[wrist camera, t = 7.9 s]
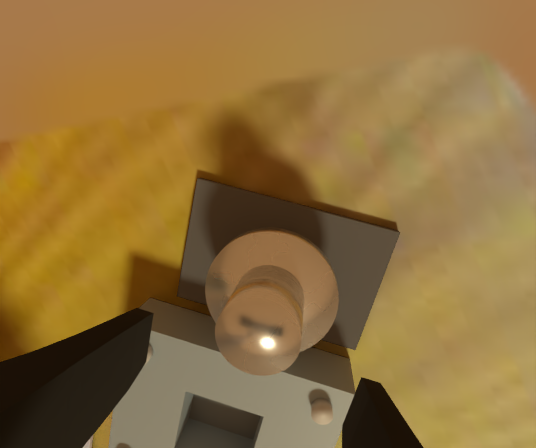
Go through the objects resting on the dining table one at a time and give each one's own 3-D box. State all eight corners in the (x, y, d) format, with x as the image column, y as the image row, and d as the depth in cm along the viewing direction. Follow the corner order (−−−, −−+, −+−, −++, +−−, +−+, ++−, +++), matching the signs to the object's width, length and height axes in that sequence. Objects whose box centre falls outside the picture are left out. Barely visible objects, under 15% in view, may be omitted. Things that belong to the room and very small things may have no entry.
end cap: (212, 306, 20) (165, 379, 14) (234, 205, 18) (190, 236, 12) (316, 338, 19) (316, 429, 13) (350, 237, 17) (369, 287, 11)
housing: (131, 428, 24) (100, 474, 21) (150, 297, 21) (117, 327, 17) (301, 486, 23) (298, 546, 20) (349, 358, 20) (356, 403, 16)
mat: (179, 293, 20) (176, 296, 20) (199, 177, 18) (197, 178, 18) (354, 346, 20) (355, 350, 19) (398, 230, 17) (400, 232, 17)
